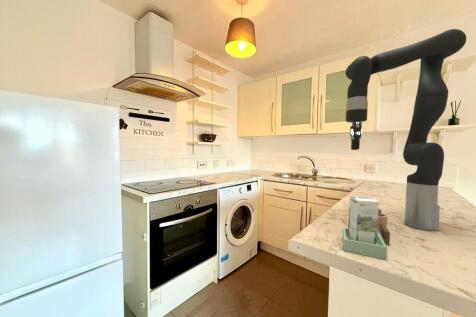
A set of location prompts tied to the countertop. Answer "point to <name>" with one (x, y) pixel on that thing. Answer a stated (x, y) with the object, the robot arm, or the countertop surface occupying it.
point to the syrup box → (363, 219)
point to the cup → (382, 220)
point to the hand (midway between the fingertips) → (354, 149)
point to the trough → (365, 246)
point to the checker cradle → (385, 234)
